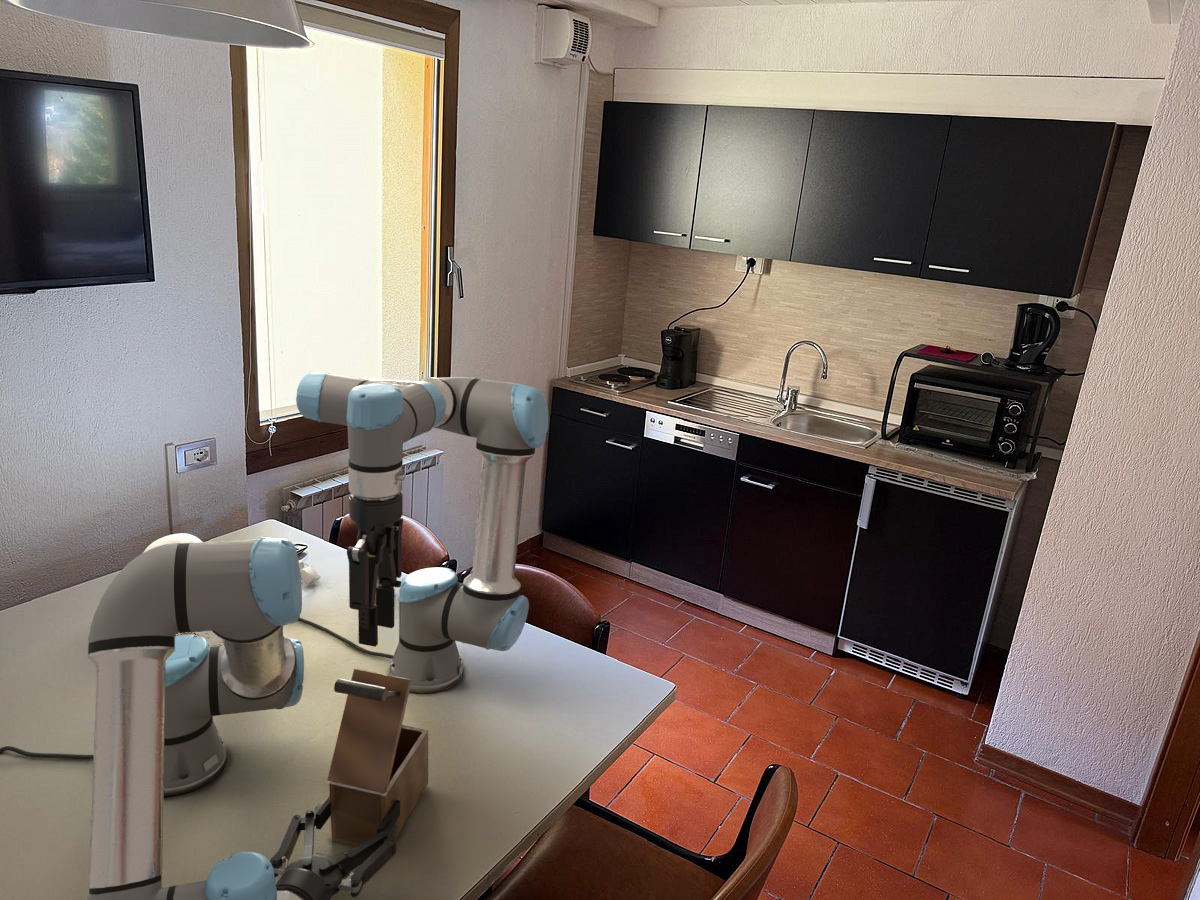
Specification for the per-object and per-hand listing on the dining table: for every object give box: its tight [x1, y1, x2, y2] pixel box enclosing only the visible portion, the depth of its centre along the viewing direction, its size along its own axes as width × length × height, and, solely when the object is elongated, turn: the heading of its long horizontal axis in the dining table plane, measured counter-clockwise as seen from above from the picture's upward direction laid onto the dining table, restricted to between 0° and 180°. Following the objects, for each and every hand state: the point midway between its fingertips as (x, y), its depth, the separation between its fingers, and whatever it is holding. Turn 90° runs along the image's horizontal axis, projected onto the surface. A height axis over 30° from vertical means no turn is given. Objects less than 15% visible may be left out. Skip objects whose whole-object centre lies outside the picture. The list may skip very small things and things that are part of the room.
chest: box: [328, 724, 429, 847], centre depth 140 cm, size 16×9×11 cm, turn 168°
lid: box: [326, 668, 412, 793], centre depth 129 cm, size 17×9×9 cm
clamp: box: [298, 559, 322, 587], centre depth 219 cm, size 20×4×7 cm, turn 62°
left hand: (368, 800), depth 136 cm, fingers closed on chest, 9 cm apart
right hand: (377, 634), depth 130 cm, fingers open, 5 cm apart
